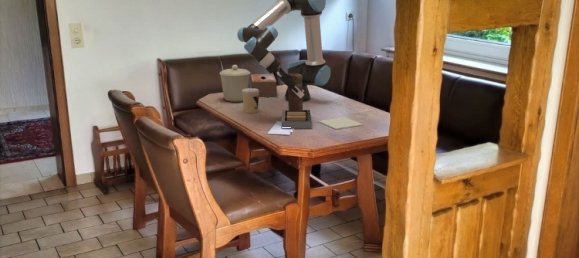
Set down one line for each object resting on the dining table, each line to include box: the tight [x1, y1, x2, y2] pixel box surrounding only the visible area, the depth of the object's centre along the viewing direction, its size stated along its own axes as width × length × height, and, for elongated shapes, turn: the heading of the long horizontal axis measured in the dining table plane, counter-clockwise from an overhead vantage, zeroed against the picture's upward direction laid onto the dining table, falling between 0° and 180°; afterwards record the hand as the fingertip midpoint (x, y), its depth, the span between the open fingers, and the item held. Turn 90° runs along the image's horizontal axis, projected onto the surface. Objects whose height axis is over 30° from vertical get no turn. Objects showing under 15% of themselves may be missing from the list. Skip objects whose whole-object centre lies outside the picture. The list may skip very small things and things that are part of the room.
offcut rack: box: [281, 109, 312, 130], centre depth 284 cm, size 24×14×4 cm, turn 0°
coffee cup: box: [242, 87, 260, 114], centre depth 304 cm, size 9×9×12 cm
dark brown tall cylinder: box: [287, 72, 304, 112], centre depth 285 cm, size 8×7×20 cm
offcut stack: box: [287, 112, 306, 121], centre depth 278 cm, size 4×9×6 cm, turn 90°
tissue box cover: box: [250, 73, 278, 99], centre depth 349 cm, size 26×14×10 cm, turn 6°
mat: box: [318, 116, 364, 131], centre depth 282 cm, size 16×16×1 cm
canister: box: [219, 64, 251, 103], centre depth 329 cm, size 18×18×21 cm
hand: (302, 94), depth 285 cm, fingers closed on dark brown tall cylinder, 7 cm apart
